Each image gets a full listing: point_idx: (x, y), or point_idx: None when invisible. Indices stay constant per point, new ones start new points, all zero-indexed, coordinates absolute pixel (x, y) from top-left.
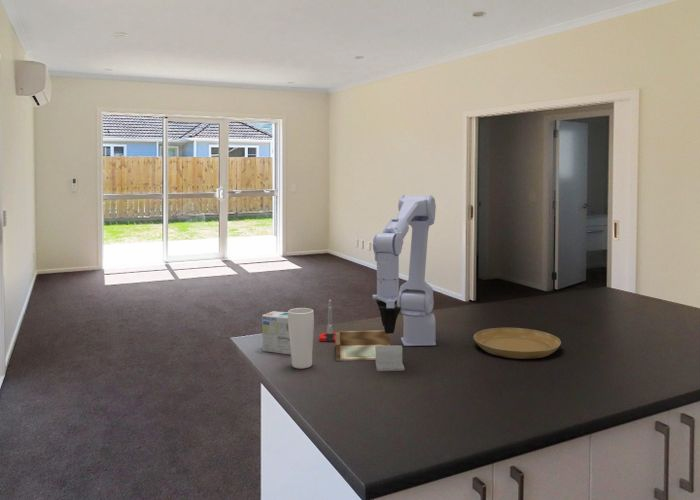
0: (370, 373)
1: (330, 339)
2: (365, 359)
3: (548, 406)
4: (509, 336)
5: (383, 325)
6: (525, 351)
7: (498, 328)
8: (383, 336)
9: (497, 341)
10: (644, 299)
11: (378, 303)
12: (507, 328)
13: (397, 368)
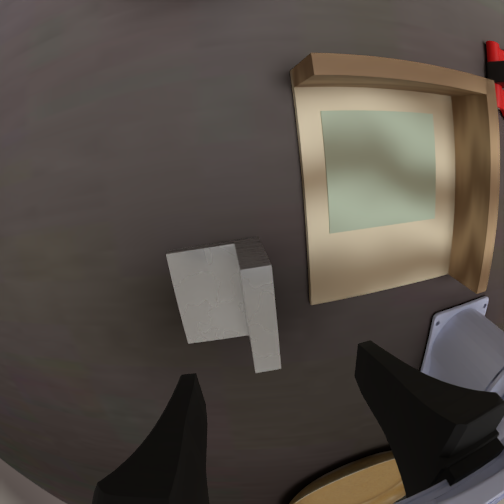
0: (135, 227)
1: (491, 74)
2: (303, 193)
3: (74, 489)
4: None
5: (360, 347)
6: None
7: None
8: (469, 263)
9: (395, 465)
10: None
11: (443, 427)
12: None
13: (182, 322)
